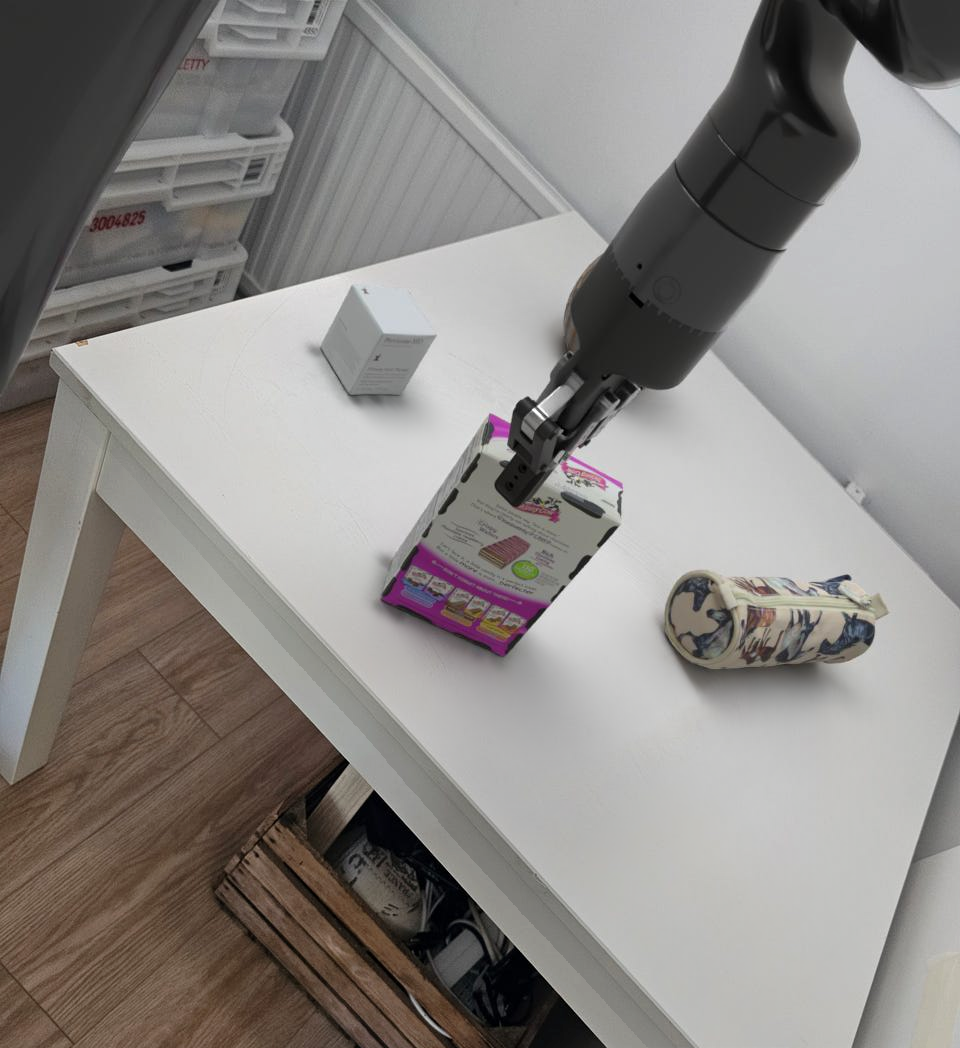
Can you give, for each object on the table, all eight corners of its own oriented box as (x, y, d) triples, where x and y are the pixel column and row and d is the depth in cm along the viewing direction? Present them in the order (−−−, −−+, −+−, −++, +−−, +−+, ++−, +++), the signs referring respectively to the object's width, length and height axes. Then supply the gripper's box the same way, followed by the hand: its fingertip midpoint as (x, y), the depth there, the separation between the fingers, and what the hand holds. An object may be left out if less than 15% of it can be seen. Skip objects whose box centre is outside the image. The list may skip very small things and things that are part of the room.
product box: (347, 396, 90) (382, 333, 85) (317, 346, 92) (350, 281, 87) (402, 396, 94) (439, 335, 89) (372, 347, 96) (407, 285, 91)
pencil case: (792, 612, 106) (861, 553, 100) (831, 682, 102) (907, 626, 96) (637, 609, 94) (705, 541, 87) (676, 689, 90) (751, 625, 83)
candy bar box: (511, 615, 85) (627, 482, 73) (504, 660, 81) (625, 527, 70) (388, 555, 81) (490, 407, 70) (376, 599, 78) (481, 451, 67)
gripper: (677, 212, 59) (522, 425, 71) (563, 244, 49) (406, 485, 61) (772, 302, 58) (599, 503, 70) (674, 353, 48) (493, 576, 60)
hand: (509, 494), depth 65 cm, fingers closed
